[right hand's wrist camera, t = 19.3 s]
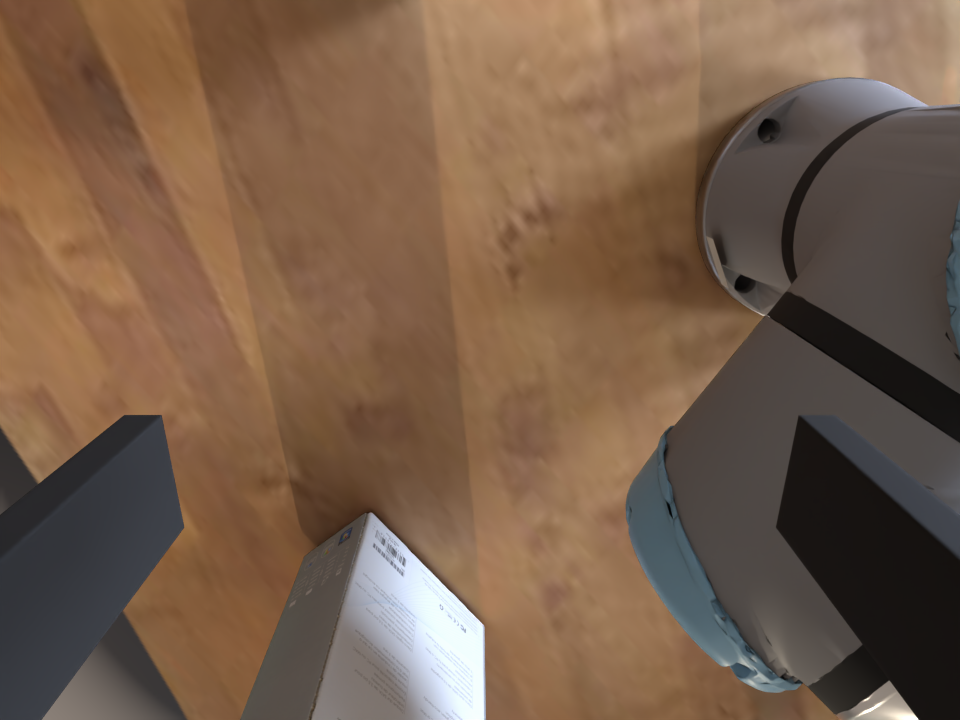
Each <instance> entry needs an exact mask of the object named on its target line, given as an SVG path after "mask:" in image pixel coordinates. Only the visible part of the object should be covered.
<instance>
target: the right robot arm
mask: <svg viewBox="0 0 960 720" xmlns="http://www.w3.org/2000/svg"><path fill="white" fill-rule="evenodd" d="M696 233H697V240H698V244H699V249H700V252H701V255H702V258H703V260H704V262H705V264H706V267H707V269H708V270H709V272H710V273H711V275H712V277H713V278H714V279H715V281H716V282H717V283H718V284H719V286H720V287H721V288H722V289H723V290H724V291H725V292H726V293H728V294H729V295H730V296H731V297H733V298H734V299H735V300H737V301H738V302H740V303H741V304H743V305H744V306H746V307H748V308H749V309H751V310H753V311H755V312H757V313H759V314H761V315H763V316H764V318H763V319H762V320H761V321H760V322H759V324H758V325H757V326H756V327H755V329H754V330H753V331H752V332H751V333H750V335H749V336H748V337H747V338H746V340H745V341H744V342H743V343H742V344H741V346H740V347H739V348H738V349H737V351H736V352H735V353H734V354H733V355H732V357H731V358H730V359H729V360H728V362H727V363H726V364H725V365H724V366H723V368H722V369H721V370H720V371H719V373H718V374H717V375H716V376H715V377H714V379H713V380H712V381H711V382H710V384H709V385H708V386H707V387H706V388H705V390H704V391H703V392H702V393H701V394H700V396H699V397H698V398H697V399H696V401H695V402H694V403H693V404H692V405H691V407H690V408H689V409H688V410H687V412H686V413H685V414H684V415H683V416H682V418H681V419H680V420H679V421H678V422H677V424H676V425H675V426H670V427H669V428H668V429H667V430H666V431H665V432H664V434H663V435H662V436H661V438H660V441H659V444H658V447H657V449H656V450H655V451H654V453H653V454H652V456H651V457H650V458H649V460H648V461H647V463H646V464H645V465H644V467H643V468H642V470H641V471H640V472H639V474H638V475H637V476H636V478H635V479H634V480H633V482H632V484H631V486H630V488H629V491H628V494H627V499H626V519H627V523H628V525H629V536H630V539H631V543H632V545H633V548H634V551H635V553H636V555H637V558H638V560H639V562H640V564H641V566H642V568H643V570H644V572H645V574H646V576H647V578H648V579H649V581H650V583H651V585H652V586H653V588H654V589H655V591H656V592H657V594H658V595H659V597H660V599H661V600H662V601H663V603H664V604H665V606H666V607H667V608H668V610H669V611H670V612H671V614H672V615H673V617H674V618H675V619H676V620H677V622H678V623H679V624H680V625H681V626H682V628H683V629H684V630H685V631H686V633H687V634H688V635H689V636H690V637H691V638H692V639H693V640H694V641H695V642H696V643H697V645H698V646H699V647H700V648H701V649H703V650H704V651H705V652H706V653H707V654H708V655H709V656H710V657H711V658H712V659H713V660H715V661H716V662H717V663H718V664H719V665H721V666H724V667H727V666H730V667H731V669H732V671H733V672H734V674H735V675H736V676H737V678H738V679H739V680H741V681H742V682H744V683H746V684H747V685H749V686H751V687H753V688H755V689H758V690H761V691H764V692H772V693H777V692H782V691H785V690H795V689H797V688H798V687H799V686H800V685H801V684H802V683H804V684H805V685H806V686H807V687H808V688H809V689H810V690H811V691H812V692H813V693H814V694H815V695H816V696H817V697H818V698H819V699H820V700H821V701H822V702H823V703H824V704H825V705H826V706H827V707H828V708H829V709H830V710H831V711H832V712H833V713H834V714H835V715H836V716H837V717H838V718H839V719H840V720H960V104H956V105H940V106H927V105H926V104H924V103H922V102H920V101H919V100H917V99H915V98H913V97H912V96H910V95H908V94H907V93H905V92H903V91H901V90H899V89H897V88H895V87H893V86H890V85H888V84H886V83H882V82H879V81H875V80H870V79H864V78H835V79H828V80H821V81H815V82H809V83H805V84H802V85H798V86H795V87H792V88H790V89H787V90H785V91H783V92H780V93H778V94H776V95H774V96H773V97H771V98H769V99H767V100H766V101H764V102H763V103H761V104H760V105H758V106H757V107H756V108H754V109H753V110H752V111H750V112H749V113H748V114H747V115H746V116H745V117H743V118H742V119H741V120H740V121H739V122H738V123H737V124H736V125H735V126H734V127H733V128H732V130H731V131H730V132H729V133H728V135H727V136H726V137H725V138H724V140H723V141H722V143H721V144H720V145H719V147H718V148H717V150H716V152H715V153H714V155H713V157H712V159H711V161H710V163H709V165H708V167H707V169H706V171H705V174H704V177H703V180H702V183H701V186H700V190H699V194H698V200H697V205H696ZM777 322H778V323H777ZM780 324H781V325H780ZM782 325H783V326H784V327H783V326H782ZM183 528H184V524H183V519H182V514H181V509H180V504H179V499H178V494H177V489H176V484H175V479H174V474H173V469H172V465H171V460H170V455H169V450H168V445H167V440H166V435H165V430H164V425H163V420H162V415H124V416H123V417H121V418H120V419H119V420H118V421H116V422H115V423H114V424H113V425H111V426H110V427H109V428H108V429H106V430H105V431H104V432H103V433H101V434H100V435H99V436H98V437H97V438H95V439H94V440H93V441H92V442H90V443H89V444H88V445H87V446H85V447H84V448H83V449H82V450H80V451H79V452H78V453H77V454H75V455H74V456H73V457H72V458H70V459H69V460H68V461H67V462H65V463H64V464H63V465H62V466H60V467H59V468H58V469H57V470H55V471H54V472H53V473H52V474H50V475H49V476H48V477H47V478H46V479H44V480H43V481H42V482H41V483H39V484H38V485H37V486H36V487H34V488H33V489H32V490H31V491H29V492H28V493H27V494H26V495H24V496H23V497H22V498H21V499H19V500H18V501H17V502H16V503H14V504H13V505H12V506H11V507H9V508H8V509H7V510H6V511H5V512H3V513H2V514H1V515H0V720H42V718H43V717H44V716H45V714H46V713H47V712H48V710H49V709H50V708H51V706H52V705H53V704H54V702H55V701H56V699H57V698H58V697H59V695H60V694H61V693H62V691H63V690H64V689H65V687H66V686H67V685H68V683H69V682H70V681H71V679H72V678H73V677H74V675H75V674H76V673H77V671H78V670H79V669H80V667H81V666H82V665H83V663H84V662H85V661H86V659H87V658H88V656H89V655H90V654H91V652H92V651H93V650H94V648H95V647H96V646H97V644H98V643H99V642H100V640H101V639H102V638H103V636H104V635H105V634H106V632H107V631H108V629H109V628H110V627H111V625H112V624H113V623H114V621H115V620H116V619H117V617H118V616H119V615H120V613H121V612H122V611H123V609H124V608H125V607H126V605H127V604H128V603H129V601H130V600H131V599H132V597H133V596H134V595H135V593H136V592H137V590H138V589H139V588H140V586H141V585H142V584H143V582H144V581H145V580H146V578H147V577H148V576H149V574H150V573H151V572H152V570H153V569H154V568H155V566H156V565H157V564H158V562H159V561H160V559H161V558H162V557H163V555H164V554H165V553H166V551H167V550H168V549H169V547H170V546H171V545H172V543H173V542H174V541H175V539H176V538H177V537H178V535H179V534H180V533H181V531H182V530H183Z"/></svg>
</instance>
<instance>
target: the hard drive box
mask: <svg viewBox="0 0 960 720" xmlns="http://www.w3.org/2000/svg"><path fill="white" fill-rule="evenodd" d="M484 629H485V628H484V625H483V624H482V623H481V622H480V621H479V620H478V619H477V618H476V617H475V616H474V615H473V614H472V613H471V612H470V611H469V610H468V609H467V608H466V607H465V605H464V604H462V603H461V602H460V601H459V600H458V598H457V597H456V596H455V595H454V594H452V593H451V592H450V591H449V590H448V589H447V588H446V587H445V586H444V585H443V584H442V583H441V582H440V581H439V580H438V579H437V578H436V577H435V576H434V575H433V574H432V573H431V572H430V571H429V570H428V569H427V568H426V567H425V566H424V565H423V564H422V563H421V562H420V561H419V559H418V558H417V557H416V556H415V555H414V554H413V553H411V552H410V550H409V549H408V548H407V547H406V546H405V545H404V544H403V543H402V542H401V541H400V540H399V539H398V538H397V537H396V536H395V535H394V534H393V533H392V532H391V531H390V530H389V529H388V528H387V527H386V526H385V525H384V524H383V523H382V522H381V521H380V520H379V519H378V518H377V517H376V516H375V515H374V514H373V513H371V512H370V513H368V514H367V513H364V514H363V515H361V516H360V517H359V518H357V519H356V520H354V521H353V522H351V523H350V524H349V525H347V526H346V527H344V528H343V529H342V530H340V531H339V532H337V533H336V534H335V535H333V536H332V537H330V538H329V539H328V540H326V541H325V542H323V543H322V544H321V545H319V546H318V547H316V548H315V549H314V550H312V551H311V552H310V553H308V554H307V555H306V556H304V559H303V561H302V564H301V566H300V569H299V572H298V574H297V577H296V580H295V582H294V585H293V587H292V590H291V592H290V595H289V597H288V600H287V602H286V605H285V608H284V610H283V613H282V615H281V618H280V620H279V623H278V625H277V628H276V630H275V633H274V635H273V638H272V640H271V643H270V645H269V648H268V650H267V653H266V655H265V658H264V660H263V663H262V665H261V668H260V670H259V673H258V676H257V678H256V681H255V683H254V686H253V688H252V691H251V693H250V696H249V698H248V701H247V704H246V706H245V709H244V711H243V714H242V716H241V719H240V720H486V694H485V631H484Z"/></svg>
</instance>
